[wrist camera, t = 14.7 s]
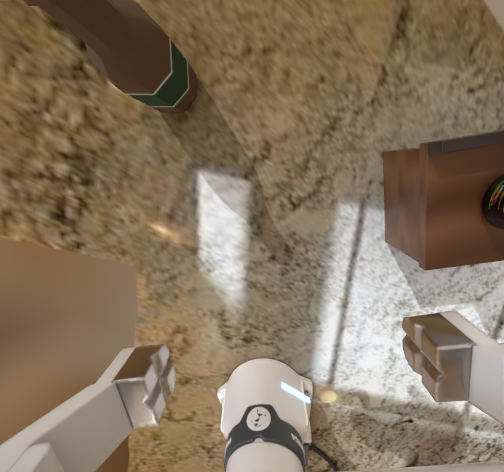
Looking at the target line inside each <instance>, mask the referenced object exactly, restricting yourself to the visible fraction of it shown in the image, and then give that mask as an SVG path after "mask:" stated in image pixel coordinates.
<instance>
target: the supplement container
mask: <svg viewBox="0 0 504 472" xmlns="http://www.w3.org/2000/svg"><path fill="white" fill-rule="evenodd" d="M482 213H483V216H484V218H485V219H486V220H487V221H488V222H489V223H490V224H491V225H492V226H494V227H496V228H498V229H502V230H504V175H502V176H500V177H499V178H497V179H496V180H495V181H494V182H493V183H492V184H491V185H490V186H489V187H488V189H487V190H486V192H485V194H484V196H483V199H482Z"/></svg>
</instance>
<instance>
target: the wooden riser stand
mask: <svg viewBox="0 0 504 472" xmlns="http://www.w3.org/2000/svg"><path fill="white" fill-rule="evenodd" d="M383 169H384V204H385V240H386V242H387V243H389V244H391V245H392V246H394V247H395V248H397V249H399V250H400V251H402V252H403V253H405V254H406V255H408V256H410V257H411V258H413V259H414V260H416V261H418V262H419V266H420V267H421V268H423V269H424V270H432V269H440V268H448V267H455V266H463V265H471V264H479V263H487V262H495V261H502V260H504V230H502V229H498V228H496V227H494V226H492V225H491V224H490V223H489V222H488V221H487V220H486V219H485V218H484V216H483V213H482V199H483V196H484V194H485V192H486V190H487V189H488V187H489V186H490V185H491V184H492V183H493V182H494V181H495V180H496V179H497V178H499V177H500V176H502V175H504V130H498V131H492V132H486V133H480V134H474V135H469V136H463V137H457V138H451V139H445V140H439V141H433V142H427V143H421V144H420V148H411V149H402V150H393V151H387V152H383Z"/></svg>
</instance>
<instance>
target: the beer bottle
mask: <svg viewBox="0 0 504 472" xmlns="http://www.w3.org/2000/svg"><path fill="white" fill-rule="evenodd" d="M24 1H25V2H26V3H27V4H28V5H29V6H39V7H41V8H42V9H43V10H44V11H46V12H47V13H48V14H49V15H51V16H52V17H53V18H54V19H56V20H57V21H58V22H59V23H61V24H62V25H63V26H65V27H66V28H67V29H68V30H70V31H71V32H72V33H73V34H75V35H76V36H77V37H78V38H80V39H81V40H82V41H83V42H85V43H86V48H87V54H88V56H89V58H90V59H91V61H92V62H93V64H94V65H95V66H96V67H97V68H98V69H99V70H100V71H101V72H102V73H103V74H104V75H105V76H106V77H107V78H108V79H109V80H110V81H111V82H112V83H113V84H114V85H115V86H116V87H117V88H118V89H119V90H121V91H122V92H124V93H125V94H127V95H129V96H131V97H133V98H135V99H137V100H139V101H141V102H143V103H145V104H147V105H149V106H151V107H153V108H155V109H157V110H159V111H161V112H184V111H185V110H186V109H187V107H188V106H189V105H190V104H191V103H192V102H193V100H194V99H195V98H196V74H195V72H194V70H193V69H192V67H191V66H190V65H189V63H188V62H187V61H186V59H185V58H184V57H183V55H182V54H181V53H180V51H179V50H178V49H177V47H176V46H175V45H174V43H173V42H172V41H171V39H170V38H169V37H168V36H167V35H166V34H165V32H164V31H163V30H162V29H161V28H160V27H159V26H158V25H157V24H156V22H155V21H154V20H153V19H152V18H151V17H150V16H149V15H148V14H147V12H146V11H145V10H144V9H143V8H142V7H141V6H140V5H139V4H138V3H136V2H133V1H131V0H24Z"/></svg>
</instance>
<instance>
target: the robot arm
mask: <svg viewBox="0 0 504 472" xmlns="http://www.w3.org/2000/svg"><path fill="white" fill-rule="evenodd" d="M402 328H403V330H404V331H405V332H406V333H407V335H406V336H405V337H404V339H403V350H404V354H405V357H406V360H407V362H408V363H409V365H410V367H411V368H412V369H413V371H415V372H416V373H418V374H420V375H422V383H423V385H424V386H425V387H426V389H427V390H428V392H429V393H430V394H431V396H432V397H433V398H434V400H435V401H436V402H450V401H468V400H469V403H471V404H472V405H474V406H475V407H477V408H478V409H480V410H481V411H483V412H485V413H486V414H488V415H489V416H491V417H492V418H494V419H495V420H497V421H498V422H500V423H501V424H503V425H504V343H498V342H496V341H495V340H494V339H492V338H491V337H490V336H488V335H487V334H486V333H484V332H483V331H482V330H480V329H479V328H478V327H476V326H475V325H474V324H472V323H471V322H470V321H469V320H467V319H466V318H465V317H463V316H462V315H461V314H459V313H458V312H455V311H446V312H439V313H436V314H428V315H420V316H411V317H404V319H403V322H402ZM169 355H170V352H169V349H168V346H167V345H165V344H161V345H150V346H139V347H131V348H125V349H123V350H121V351H120V353H119V354H118V355H117V357H116V358H115V359H114V360H113V362H112V363H111V364H110V366H109V367H108V368H107V369H106V371H105V372H104V373H103V375H102V376H101V377H100V378H99V380H98V381H97V382H96V384H93V385H90V386H88V387H86V388H85V389H84V390H82V391H81V392H79V393H78V394H76V395H75V396H73V397H72V398H70V399H69V400H67V401H66V402H64V403H63V404H61V405H60V406H58V407H57V408H55V409H54V410H52V411H51V412H49V413H48V414H46V415H45V416H43V417H42V418H40V419H39V420H37V421H36V422H34V423H33V424H31V425H30V426H28V427H27V428H25V429H24V430H22V431H21V432H19V433H18V434H16V435H15V436H14V437H12V438H10V439H9V440H7V441H6V442H4V443H3V444H1V445H0V472H95V471H96V470H97V468H99V467H100V465H101V464H102V463H103V462H104V461H105V460H106V459H107V458H108V456H110V455H111V453H112V452H113V451H114V450H115V449H116V448H117V447H118V446H119V445H120V444H121V442H122V441H123V440H124V439H125V438H126V437H127V436H128V435H129V434H130V433H131V432H132V431H133V428H142V427H150V426H159V423H160V421H161V419H162V416H163V414H164V411H165V409H166V402H165V400H166V399H167V398H168V397H169V396H170V395H171V394H172V391H173V389H174V386H175V378H176V375H175V368H174V365H173V363H171V362H170V361H169V360H168V358H169ZM305 390H307V391H305ZM312 392H313V384H312V381H311V380H309V379H307V378H305V377H303V376H300V375H298V374H297V373H296V372H295V371H294V370H293V369H292V368H290V367H289V366H288V365H286V364H284V363H282V362H280V361H277V360H273V359H265V358H263V359H254V360H250V361H247V362H245V363H243V364H241V365H240V366H239V367H237V368H236V369H235V370H234V372H233V373H232V374H231V376H230V378H229V380H228V381H227V382H226V383H225V384H224V385H222V386H221V387H220V388H219V389H218V394H217V396H218V398H219V400H220V402H221V404H222V406H223V410H222V419H221V431H222V432H223V434H224V436H225V438H226V439H227V444H226V447H225V455H224V458H225V463H224V468H225V472H305V466H307V463H308V451H310V450H313V451H315V452H316V453H317V454H319V455H320V456H321V457H323V458H324V459H325V460H326V461H327V462H328V463H329V464H330V465H331V466H332V467H333V469H334V471H335V472H338V469H337V468H336V466H335V464H334V463H333V462H332V461H331V460H330V459H329V458H328V457H327V456H326V455H325V454H324V453H322V452H321V451H320V450H318V449H317V448H316V447H315V446H314V445H313V444H311V445H310V446H309V444H308V443H311V442H312V436H311V429H310V422H309V417H310V408H311V400H312ZM339 472H504V461H498V462H482V463H466V464H450V465H434V466H419V467H403V468H387V469H371V470H355V471H339Z"/></svg>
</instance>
